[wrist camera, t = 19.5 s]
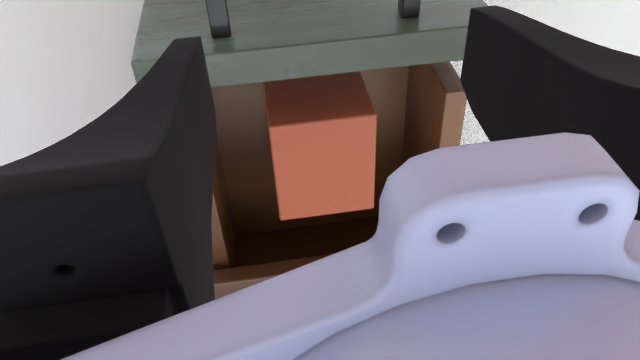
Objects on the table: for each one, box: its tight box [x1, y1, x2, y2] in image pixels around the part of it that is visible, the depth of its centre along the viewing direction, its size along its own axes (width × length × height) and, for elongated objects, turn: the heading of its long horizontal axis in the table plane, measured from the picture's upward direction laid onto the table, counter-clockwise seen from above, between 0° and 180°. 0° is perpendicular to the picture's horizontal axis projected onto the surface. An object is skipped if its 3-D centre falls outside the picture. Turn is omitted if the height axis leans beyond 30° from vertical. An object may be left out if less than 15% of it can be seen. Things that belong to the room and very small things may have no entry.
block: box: [262, 71, 377, 220], centre depth 22 cm, size 4×5×4 cm
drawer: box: [131, 0, 488, 270], centre depth 22 cm, size 18×11×6 cm, turn 2°
